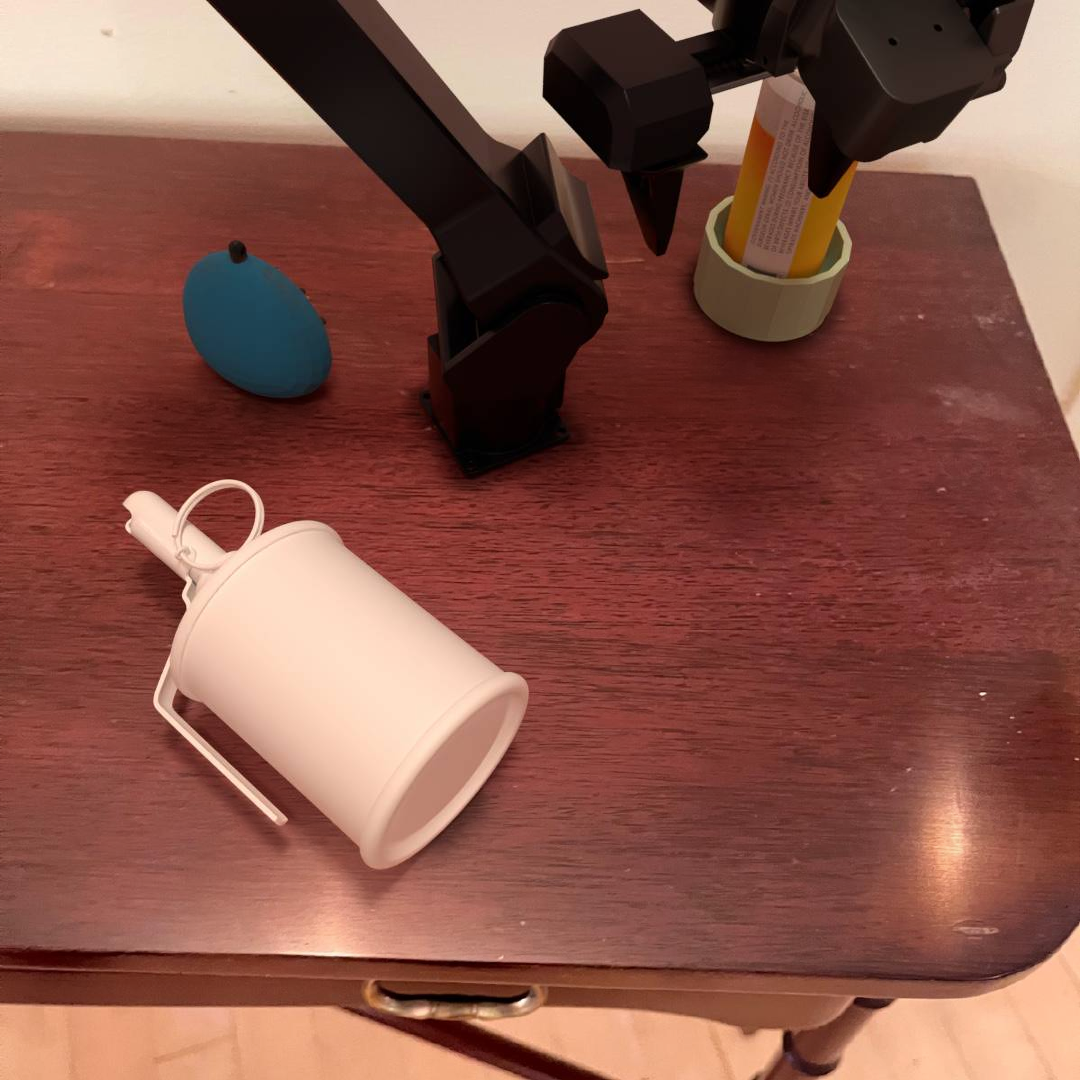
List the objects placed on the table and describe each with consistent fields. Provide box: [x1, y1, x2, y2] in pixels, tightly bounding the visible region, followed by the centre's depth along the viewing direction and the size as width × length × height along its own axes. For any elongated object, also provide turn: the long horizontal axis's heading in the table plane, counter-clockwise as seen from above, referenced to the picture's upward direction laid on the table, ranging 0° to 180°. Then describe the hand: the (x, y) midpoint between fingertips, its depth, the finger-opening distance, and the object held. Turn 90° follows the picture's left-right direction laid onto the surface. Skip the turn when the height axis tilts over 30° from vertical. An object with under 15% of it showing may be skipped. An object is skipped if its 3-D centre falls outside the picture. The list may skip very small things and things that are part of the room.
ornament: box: [182, 239, 333, 399], centre depth 53 cm, size 8×5×10 cm, turn 70°
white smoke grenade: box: [122, 479, 530, 870], centre depth 43 cm, size 10×9×20 cm
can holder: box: [693, 194, 853, 342], centre depth 62 cm, size 9×9×4 cm
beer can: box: [721, 69, 859, 279], centre depth 57 cm, size 6×6×15 cm
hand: (738, 221), depth 47 cm, fingers open, 9 cm apart
